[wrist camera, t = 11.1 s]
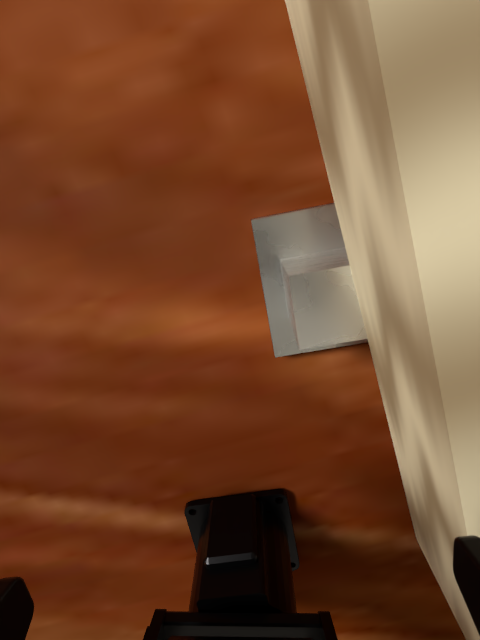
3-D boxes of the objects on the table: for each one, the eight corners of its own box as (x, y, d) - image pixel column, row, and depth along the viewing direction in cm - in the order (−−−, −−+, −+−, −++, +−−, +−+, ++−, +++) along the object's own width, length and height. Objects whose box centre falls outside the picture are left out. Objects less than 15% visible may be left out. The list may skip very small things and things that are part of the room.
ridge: (502, 311, 19) (587, 350, 14) (273, 349, 20) (282, 397, 15) (507, 169, 17) (611, 157, 12) (251, 219, 18) (252, 226, 13)
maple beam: (525, 515, 17) (668, 677, 11) (416, 539, 17) (498, 706, 12) (447, -153, 10) (733, -655, 4) (267, -72, 10) (292, -408, 5)
